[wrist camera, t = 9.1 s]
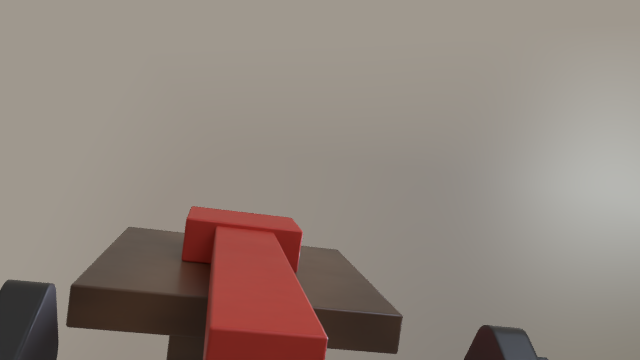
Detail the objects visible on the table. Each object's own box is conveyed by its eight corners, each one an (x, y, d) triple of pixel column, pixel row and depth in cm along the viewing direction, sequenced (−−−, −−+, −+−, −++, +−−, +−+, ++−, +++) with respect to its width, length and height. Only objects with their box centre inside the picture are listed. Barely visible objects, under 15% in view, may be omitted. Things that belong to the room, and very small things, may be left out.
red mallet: (136, 401, 12) (148, 310, 12) (186, 243, 28) (191, 205, 28) (374, 416, 13) (387, 331, 12) (287, 254, 29) (292, 217, 29)
